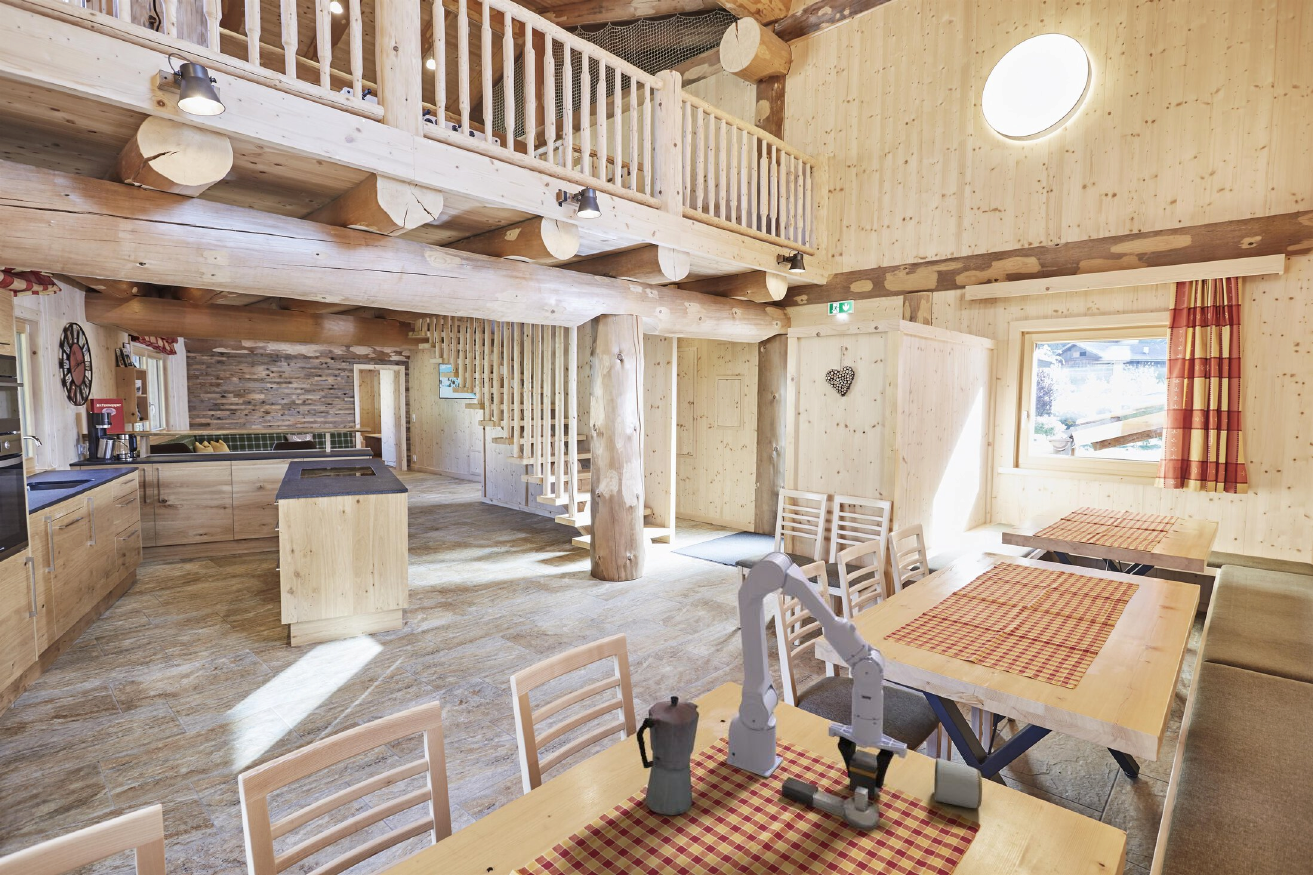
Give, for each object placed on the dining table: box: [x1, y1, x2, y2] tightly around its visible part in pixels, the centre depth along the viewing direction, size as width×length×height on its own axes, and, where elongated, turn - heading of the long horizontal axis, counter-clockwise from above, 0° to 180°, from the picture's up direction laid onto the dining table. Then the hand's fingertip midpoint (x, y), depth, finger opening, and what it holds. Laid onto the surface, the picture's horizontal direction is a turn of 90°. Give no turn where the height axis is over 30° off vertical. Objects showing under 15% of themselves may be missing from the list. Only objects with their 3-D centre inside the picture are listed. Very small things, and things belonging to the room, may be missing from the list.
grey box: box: [849, 748, 881, 800], centre depth 124 cm, size 5×5×6 cm
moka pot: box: [636, 695, 700, 816], centre depth 118 cm, size 10×15×20 cm, turn 137°
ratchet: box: [781, 776, 880, 831], centre depth 118 cm, size 18×6×5 cm, turn 56°
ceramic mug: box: [933, 757, 983, 809], centre depth 121 cm, size 10×8×7 cm
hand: (865, 781), depth 124 cm, fingers closed on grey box, 5 cm apart
